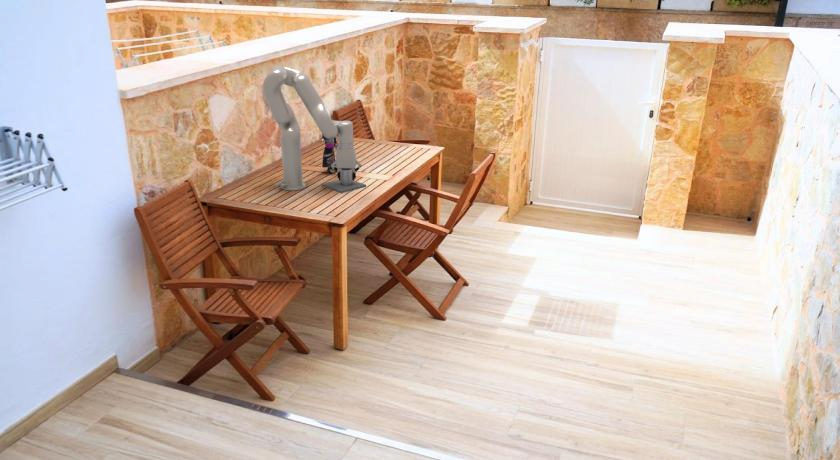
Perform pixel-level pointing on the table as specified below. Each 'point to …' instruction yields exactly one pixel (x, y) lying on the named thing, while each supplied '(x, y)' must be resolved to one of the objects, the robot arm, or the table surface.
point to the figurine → (329, 153)
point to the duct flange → (343, 186)
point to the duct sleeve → (346, 176)
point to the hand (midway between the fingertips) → (346, 179)
